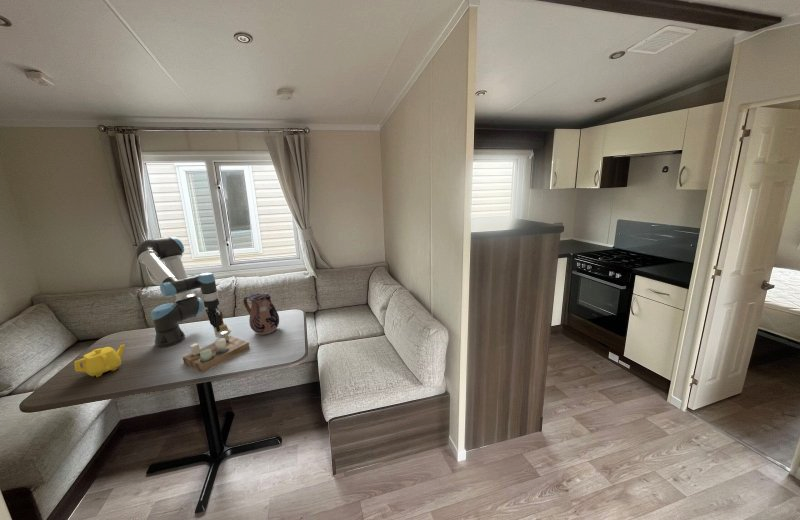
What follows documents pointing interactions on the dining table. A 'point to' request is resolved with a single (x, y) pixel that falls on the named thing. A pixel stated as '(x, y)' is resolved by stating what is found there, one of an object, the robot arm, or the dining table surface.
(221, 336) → the slider aluminium
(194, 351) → the slider ivory
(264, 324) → the ceramic pitcher
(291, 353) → the dining table surface
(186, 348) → the dining table surface
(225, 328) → the hand bell
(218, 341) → the button ivory
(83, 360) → the teapot
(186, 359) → the console
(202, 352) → the button sage
